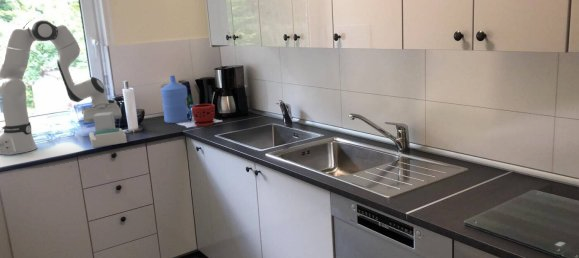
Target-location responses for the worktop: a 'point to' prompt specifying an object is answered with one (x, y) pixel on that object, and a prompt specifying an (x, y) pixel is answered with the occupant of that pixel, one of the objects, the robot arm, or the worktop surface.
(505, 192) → the worktop surface
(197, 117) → the plant pot
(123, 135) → the white tray
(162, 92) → the water jug
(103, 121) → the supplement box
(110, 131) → the pusher
